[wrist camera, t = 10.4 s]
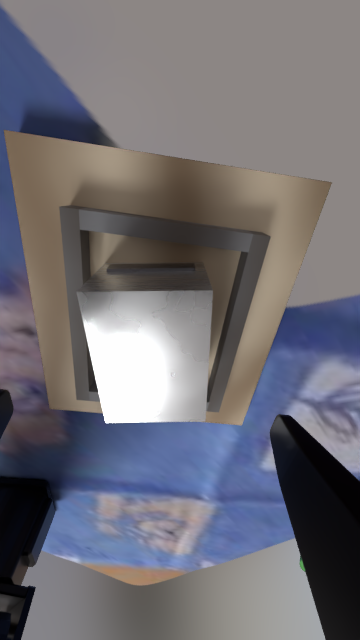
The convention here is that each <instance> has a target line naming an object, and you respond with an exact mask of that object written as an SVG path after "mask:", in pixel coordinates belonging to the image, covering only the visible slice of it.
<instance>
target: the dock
mask: <svg viewBox="0 0 360 640" xmlns="http://www.w3.org/2000/svg"><path fill="white" fill-rule="evenodd" d="M4 135H5V141H6V147H7V153H8V159H9V165H10V171H11V177H12V183H13V189H14V195H15V201H16V207H17V213H18V219H19V226H20V232H21V238H22V244H23V250H24V256H25V262H26V268H27V274H28V280H29V286H30V292H31V298H32V304H33V310H34V316H35V322H36V328H37V334H38V341H39V347H40V353H41V359H42V365H43V371H44V377H45V383H46V389H47V395H48V401H49V407H50V409H58V410H70V411H81V412H93V413H103V409H102V404H101V400H100V395H99V391H98V386H97V382H96V377H95V373H94V369H93V364H92V360H91V355H90V351H89V346H88V342H87V337H86V333H85V328H84V324H83V319H82V315H81V310H80V306H79V301H78V297H77V293H76V292H77V291H78V290H79V289H80V288H81V287H82V286H83V285H84V284H85V283H86V282H87V281H88V280H89V279H90V278H91V277H92V276H93V275H94V274H95V273H96V272H97V271H98V270H99V269H100V268H101V267H102V266H103V265H104V264H105V263H143V262H203V263H204V266H205V269H206V272H207V274H208V277H209V280H210V283H211V286H212V289H213V300H212V317H211V334H210V351H209V369H208V386H207V403H206V420H205V422H210V423H221V424H233V425H242V423H243V421H244V418H245V415H246V413H247V410H248V407H249V405H250V402H251V399H252V396H253V394H254V391H255V388H256V386H257V383H258V380H259V378H260V375H261V372H262V370H263V367H264V364H265V361H266V359H267V356H268V353H269V351H270V348H271V345H272V343H273V340H274V337H275V335H276V332H277V329H278V326H279V324H280V321H281V318H282V316H283V313H284V310H285V308H286V305H287V302H288V300H289V297H290V294H291V291H292V289H293V286H294V283H295V280H296V278H297V275H298V273H299V270H300V267H301V265H302V262H303V259H304V256H305V254H306V251H307V248H308V246H309V243H310V240H311V237H312V234H313V232H314V230H315V227H316V224H317V221H318V219H319V216H320V213H321V211H322V208H323V205H324V203H325V200H326V197H327V195H328V192H329V189H330V186H331V184H332V183H331V182H326V181H320V180H313V179H307V178H300V177H295V176H289V175H282V174H276V173H270V172H264V171H257V170H251V169H245V168H238V167H232V166H226V165H220V164H214V163H207V162H201V161H195V160H189V159H182V158H176V157H170V156H163V155H157V154H151V153H145V152H138V151H132V150H126V149H120V148H114V147H107V146H101V145H95V144H89V143H82V142H76V141H70V140H64V139H57V138H51V137H45V136H39V135H32V134H26V133H20V132H14V131H8V130H4Z"/></svg>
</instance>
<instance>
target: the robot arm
mask: <svg viewBox="0 0 360 640" xmlns="http://www.w3.org/2000/svg"><path fill="white" fill-rule="evenodd" d="M12 414H13V404H12V400H11V396H10V393H9V391H8V390H3V389H0V438H1V436H2V434H3V432H4V430H5V428H6V426H7V424H8V422H9V420H10V418H11V416H12ZM270 439H271V444H272V449H273V454H274V459H275V465H276V470H277V475H278V479H279V484H280V487H281V491H282V494H283V498H284V501H285V504H286V508H287V511H288V515H289V518H290V521H291V525H292V528H293V531H294V535H295V538H296V541H297V545H298V548H299V551H300V555H301V558H302V562H303V565H304V568H305V572H306V575H307V578H308V582H309V585H310V588H311V592H312V595H313V598H314V601H315V605H316V609H317V612H318V615H319V618H320V622H321V625H322V629H323V632H324V635H325V639H326V640H360V481H359V480H358V479H357V478H356V477H355V476H353V475H352V474H351V473H350V472H349V471H348V470H347V469H346V468H345V467H344V466H343V465H342V464H341V463H340V462H339V461H338V460H337V459H336V458H335V457H333V456H332V455H331V454H330V453H329V452H328V451H327V450H326V449H325V448H324V447H323V446H322V445H321V444H320V443H319V442H318V441H317V440H316V439H315V438H313V437H312V436H311V435H310V434H309V433H308V432H307V431H306V430H305V429H304V428H303V427H302V426H301V425H300V424H299V423H298V422H297V421H296V420H295V419H293V418H292V417H291V416H289V415H281V414H279V415H277V416H276V418H275V420H274V423H273V425H272V427H271V429H270ZM54 515H55V509H54V504H53V500H52V498H51V493H50V489H49V484H48V483H47V482H46V481H39V480H23V479H8V478H0V640H21V637H22V634H23V630H24V627H25V623H26V620H27V616H28V613H29V609H30V606H31V602H32V598H33V595H34V592H35V588H36V587H33V586H28V587H25V586H21V584H22V581H23V579H24V576H25V574H26V571H27V569H28V567H33V566H34V565H35V564H36V562H37V560H38V557H39V554H40V552H41V549H42V546H43V544H44V541H45V539H46V536H47V533H48V531H49V528H50V525H51V523H52V520H53V517H54Z"/></svg>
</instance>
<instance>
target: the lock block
mask: <svg viewBox="0 0 360 640" xmlns="http://www.w3.org/2000/svg"><path fill="white" fill-rule="evenodd" d="M76 293H77V297H78V301H79V306H80V310H81V315H82V319H83V324H84V328H85V333H86V337H87V342H88V346H89V351H90V355H91V360H92V364H93V369H94V373H95V377H96V382H97V386H98V391H99V395H100V400H101V404H102V409H103V413H104V418H105V422H106V423H126V422H205V420H206V403H207V386H208V369H209V351H210V334H211V317H212V300H213V289H212V286H211V283H210V280H209V277H208V274H207V272H206V269H205V266H204V263H203V262H143V263H105V264H104V265H103V266H102V267H101V268H100V269H99V270H98V271H97V272H96V273H95V274H94V275H93V276H92V277H91V278H90V279H89V280H88V281H87V282H86V283H85V284H84V285H83V286H82V287H81V288H80V289H79V290H78V291H77V292H76Z"/></svg>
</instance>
